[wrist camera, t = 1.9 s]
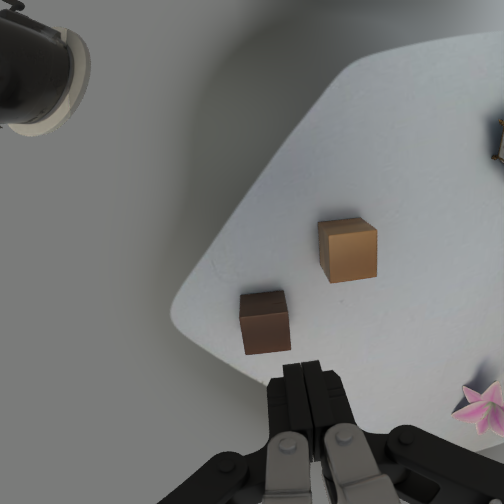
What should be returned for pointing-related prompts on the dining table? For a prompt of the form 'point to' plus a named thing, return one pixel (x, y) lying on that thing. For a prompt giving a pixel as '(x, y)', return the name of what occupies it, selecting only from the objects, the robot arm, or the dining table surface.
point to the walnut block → (264, 322)
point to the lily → (484, 410)
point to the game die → (503, 149)
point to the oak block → (348, 249)
